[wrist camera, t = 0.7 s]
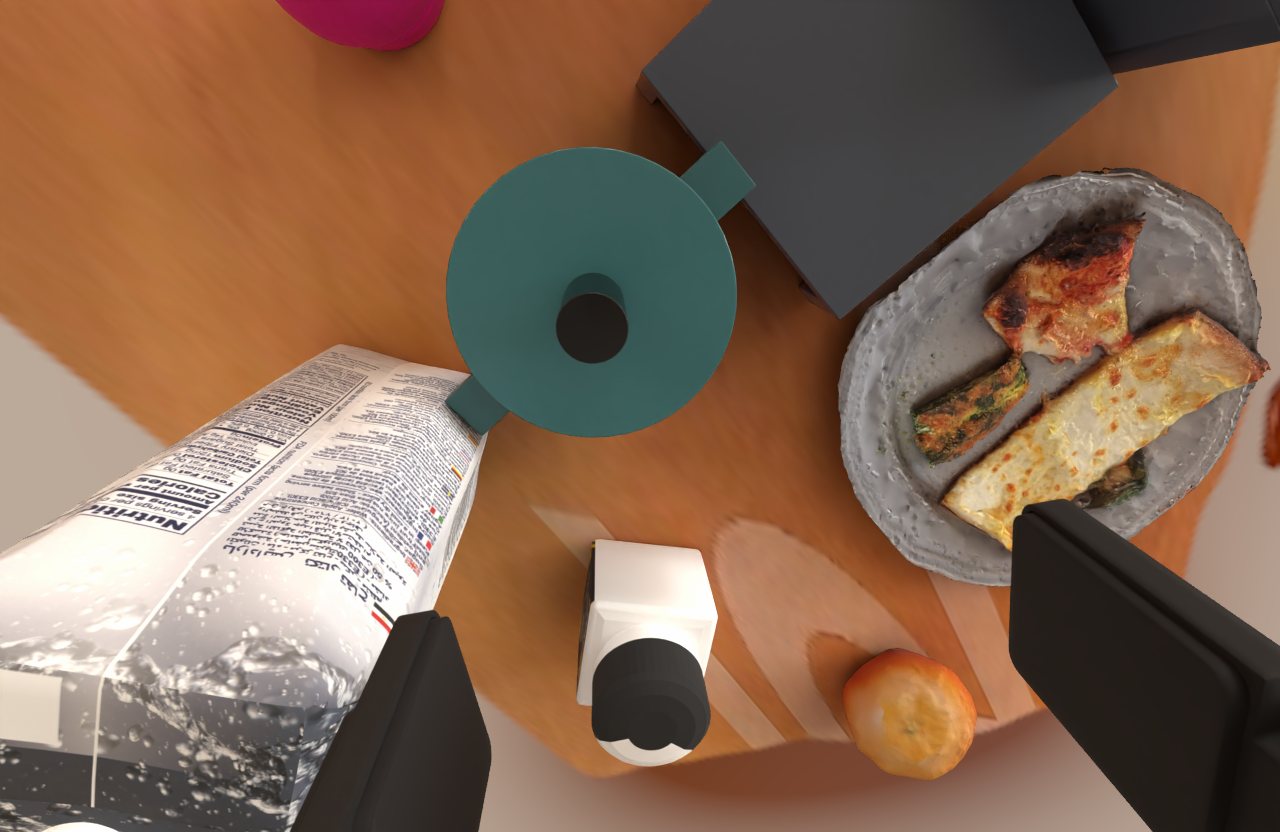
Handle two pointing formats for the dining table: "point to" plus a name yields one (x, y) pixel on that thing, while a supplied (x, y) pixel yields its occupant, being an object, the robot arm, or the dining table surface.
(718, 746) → the dining table surface
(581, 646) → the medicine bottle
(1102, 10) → the grey stepped block
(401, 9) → the pepper mill
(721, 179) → the pot
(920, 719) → the fruit
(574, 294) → the lid
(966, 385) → the food plate
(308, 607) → the juice carton
